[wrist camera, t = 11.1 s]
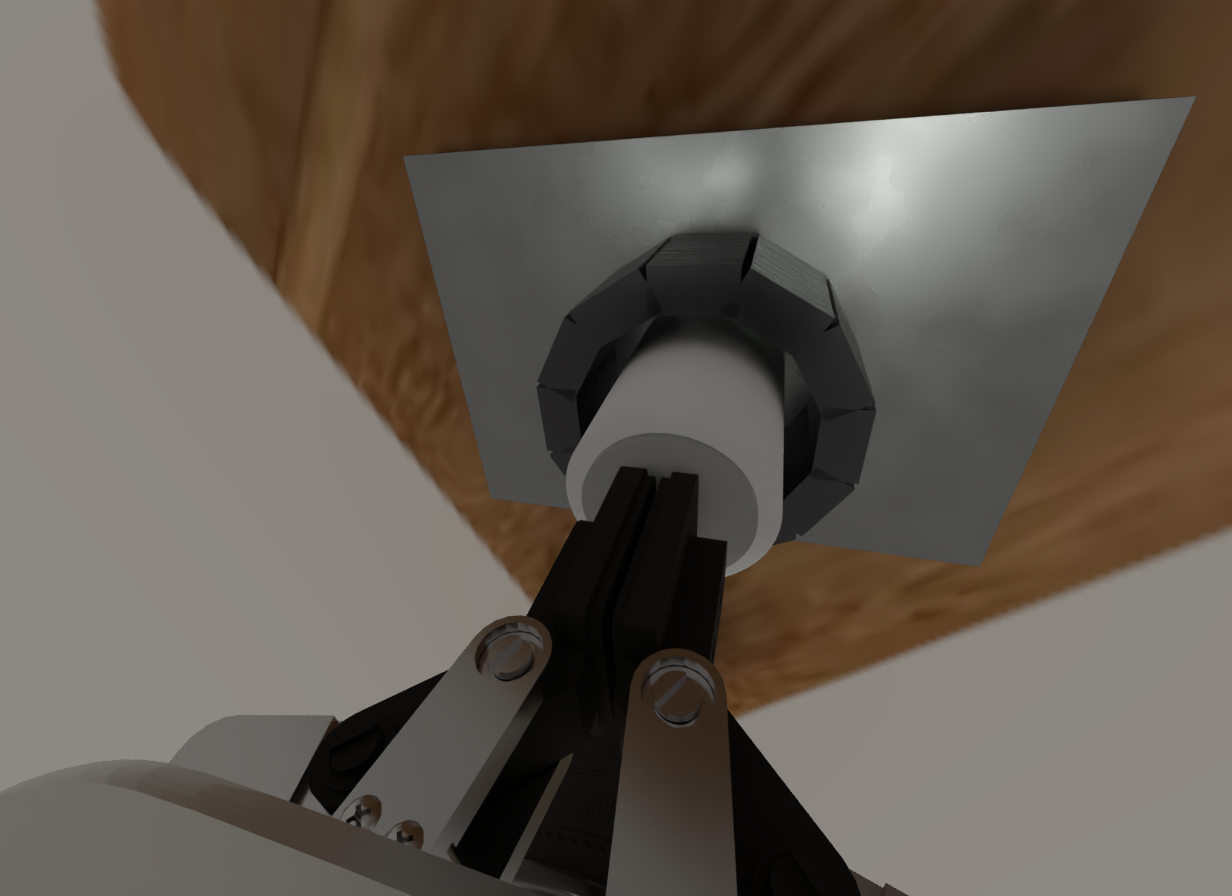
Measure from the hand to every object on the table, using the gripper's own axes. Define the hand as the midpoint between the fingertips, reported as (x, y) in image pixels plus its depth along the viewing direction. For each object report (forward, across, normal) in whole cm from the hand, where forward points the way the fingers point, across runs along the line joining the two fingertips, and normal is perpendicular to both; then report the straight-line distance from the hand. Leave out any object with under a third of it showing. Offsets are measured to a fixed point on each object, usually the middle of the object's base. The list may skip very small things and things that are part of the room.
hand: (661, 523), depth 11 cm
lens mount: (+10, 0, 0) cm, 10 cm away
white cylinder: (+8, 0, 0) cm, 8 cm away
